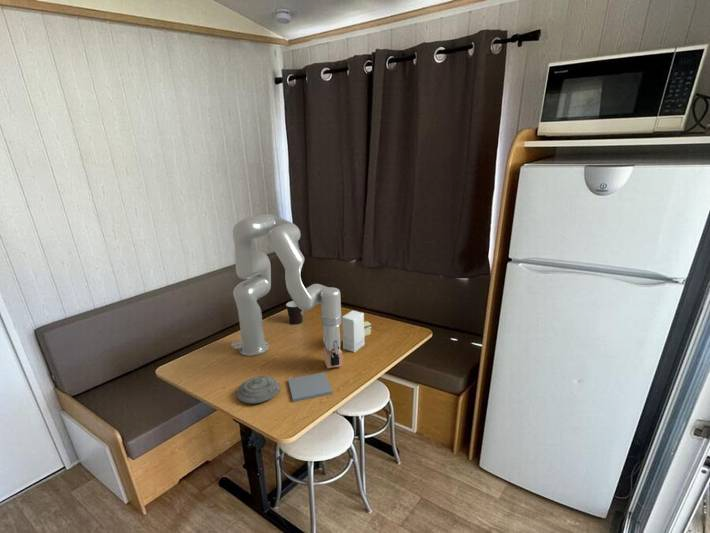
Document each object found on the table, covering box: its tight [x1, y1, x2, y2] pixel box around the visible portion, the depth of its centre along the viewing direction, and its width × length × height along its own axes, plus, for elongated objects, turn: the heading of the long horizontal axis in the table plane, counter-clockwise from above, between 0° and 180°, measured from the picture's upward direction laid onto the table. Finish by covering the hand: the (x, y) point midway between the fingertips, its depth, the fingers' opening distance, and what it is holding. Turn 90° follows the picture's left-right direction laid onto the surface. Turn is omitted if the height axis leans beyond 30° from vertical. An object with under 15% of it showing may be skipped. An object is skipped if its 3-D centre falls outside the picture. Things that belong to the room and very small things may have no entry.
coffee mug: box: [285, 300, 304, 326], centre depth 191 cm, size 12×9×10 cm
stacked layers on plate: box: [364, 320, 372, 338], centre depth 175 cm, size 10×9×6 cm
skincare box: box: [341, 310, 366, 353], centre depth 162 cm, size 8×7×16 cm
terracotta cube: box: [323, 346, 343, 369], centre depth 149 cm, size 6×6×6 cm
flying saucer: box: [236, 375, 281, 404], centre depth 133 cm, size 15×15×6 cm
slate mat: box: [287, 371, 333, 403], centre depth 136 cm, size 14×13×1 cm
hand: (333, 360), depth 149 cm, fingers closed on terracotta cube, 6 cm apart
